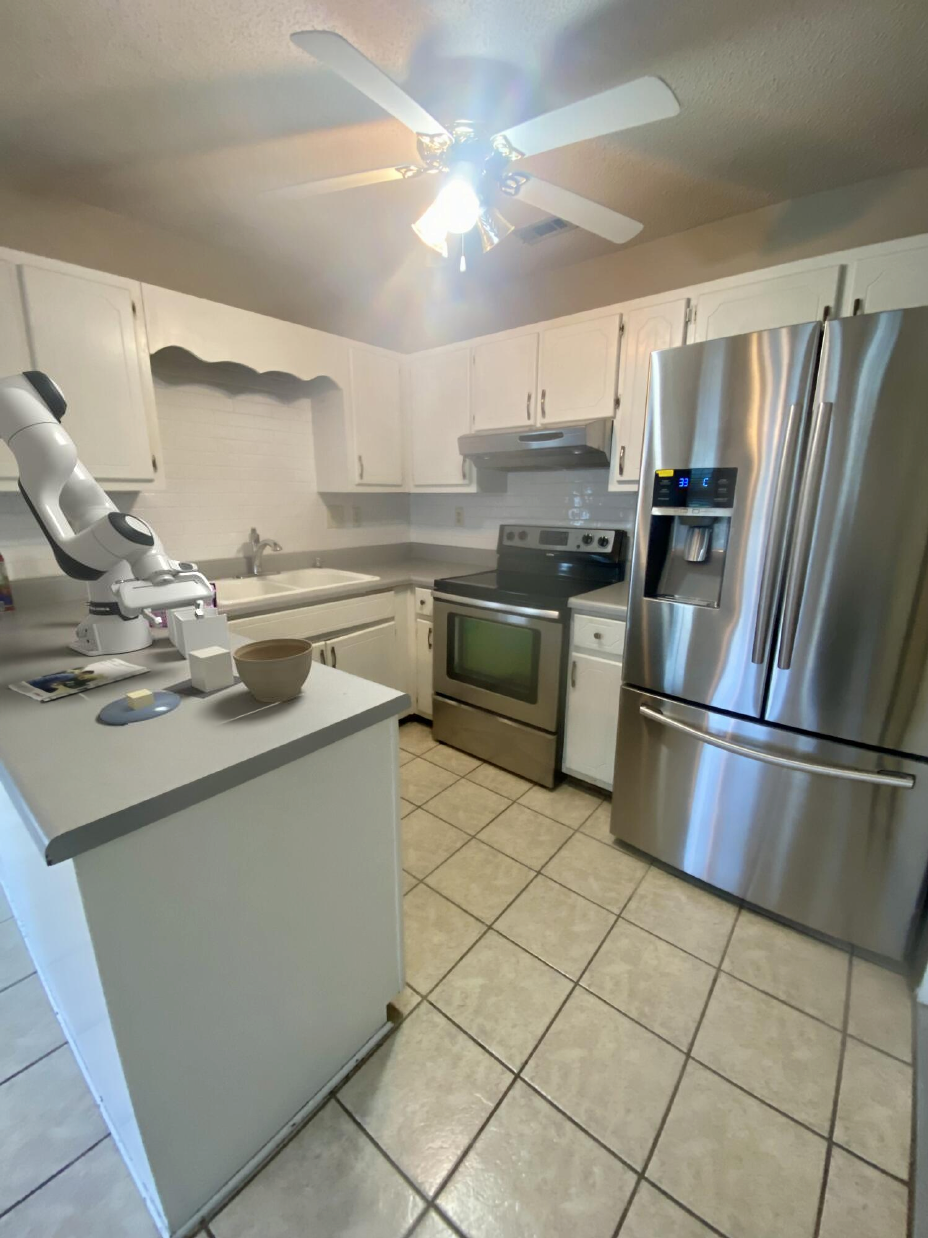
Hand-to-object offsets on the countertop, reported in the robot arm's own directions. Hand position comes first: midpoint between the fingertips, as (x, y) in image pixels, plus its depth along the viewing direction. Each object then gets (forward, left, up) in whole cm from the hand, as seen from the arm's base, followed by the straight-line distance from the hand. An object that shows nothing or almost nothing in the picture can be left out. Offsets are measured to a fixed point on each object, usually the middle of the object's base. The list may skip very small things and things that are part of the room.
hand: (180, 621), depth 119 cm
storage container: (-20, +20, -14) cm, 32 cm away
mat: (+9, -2, -14) cm, 16 cm away
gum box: (-47, +35, -14) cm, 60 cm away
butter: (+8, -17, -14) cm, 23 cm away
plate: (+8, -17, -14) cm, 23 cm away
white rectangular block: (+11, -2, -13) cm, 17 cm away
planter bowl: (+28, 0, -14) cm, 31 cm away
